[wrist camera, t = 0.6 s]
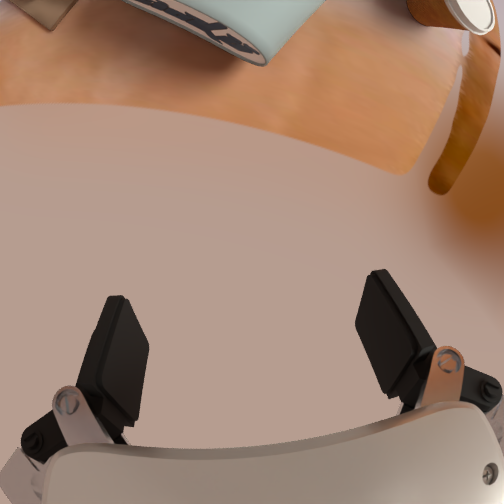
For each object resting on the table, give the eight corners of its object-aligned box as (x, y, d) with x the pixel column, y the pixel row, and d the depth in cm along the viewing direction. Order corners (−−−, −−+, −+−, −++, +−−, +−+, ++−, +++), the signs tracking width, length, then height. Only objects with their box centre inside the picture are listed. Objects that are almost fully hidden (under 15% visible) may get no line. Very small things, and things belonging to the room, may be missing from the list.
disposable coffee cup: (402, -27, 19) (451, -43, 9) (447, 7, 21) (498, 3, 11) (392, 13, 24) (445, 1, 14) (438, 46, 26) (493, 49, 16)
